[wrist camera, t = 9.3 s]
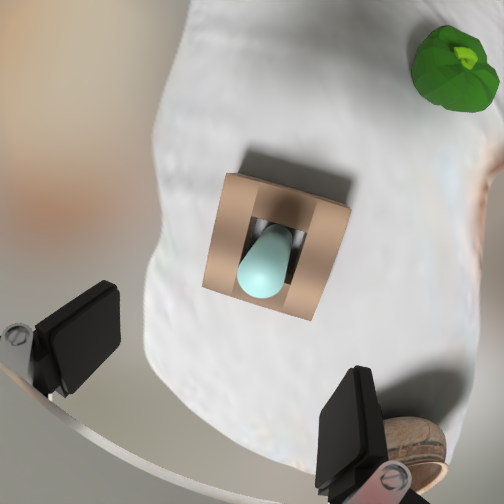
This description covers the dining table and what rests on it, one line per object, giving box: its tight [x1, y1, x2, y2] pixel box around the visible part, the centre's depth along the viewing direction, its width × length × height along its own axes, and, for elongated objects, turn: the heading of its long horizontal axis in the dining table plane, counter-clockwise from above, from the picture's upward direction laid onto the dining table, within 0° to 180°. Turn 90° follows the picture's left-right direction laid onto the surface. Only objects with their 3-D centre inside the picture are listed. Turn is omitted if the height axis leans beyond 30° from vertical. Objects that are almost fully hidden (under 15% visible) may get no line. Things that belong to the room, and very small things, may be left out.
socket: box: [202, 173, 352, 321], centre depth 26 cm, size 11×11×4 cm
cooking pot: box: [383, 416, 449, 495], centre depth 27 cm, size 25×19×12 cm
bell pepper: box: [411, 25, 500, 113], centre depth 15 cm, size 8×8×10 cm
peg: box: [237, 224, 293, 298], centre depth 23 cm, size 3×3×10 cm
